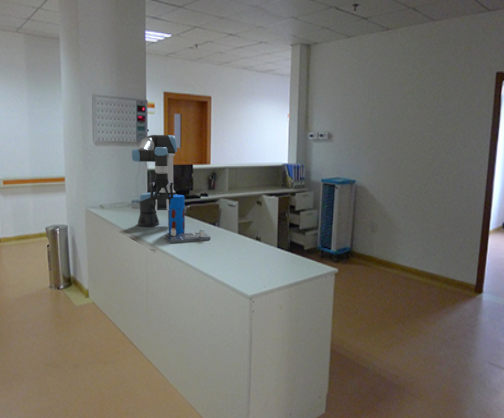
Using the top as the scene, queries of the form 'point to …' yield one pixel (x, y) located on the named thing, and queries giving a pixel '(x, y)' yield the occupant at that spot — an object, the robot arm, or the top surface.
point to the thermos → (177, 214)
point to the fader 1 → (173, 232)
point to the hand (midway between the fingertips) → (162, 209)
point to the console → (186, 237)
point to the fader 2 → (201, 233)
